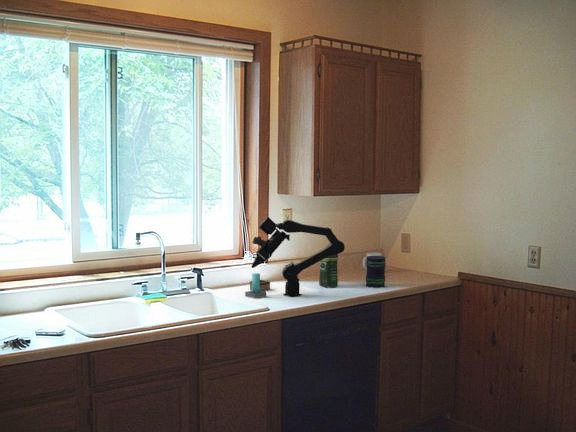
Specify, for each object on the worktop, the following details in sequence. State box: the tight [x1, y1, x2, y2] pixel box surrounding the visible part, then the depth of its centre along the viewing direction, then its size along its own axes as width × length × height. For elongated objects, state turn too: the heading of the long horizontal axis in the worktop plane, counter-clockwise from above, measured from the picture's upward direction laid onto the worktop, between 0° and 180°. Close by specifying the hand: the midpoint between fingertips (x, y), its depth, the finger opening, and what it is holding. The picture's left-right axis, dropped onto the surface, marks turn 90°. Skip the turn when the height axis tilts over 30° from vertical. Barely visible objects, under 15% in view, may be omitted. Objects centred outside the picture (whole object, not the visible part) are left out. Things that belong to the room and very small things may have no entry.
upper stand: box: [249, 279, 271, 292], centre depth 318 cm, size 7×7×4 cm
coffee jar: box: [318, 254, 339, 288], centre depth 329 cm, size 10×8×19 cm
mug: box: [362, 252, 382, 272], centre depth 374 cm, size 12×8×11 cm
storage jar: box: [365, 255, 387, 289], centre depth 331 cm, size 10×10×15 cm
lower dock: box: [244, 290, 267, 299], centre depth 302 cm, size 7×7×2 cm
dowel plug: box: [251, 272, 261, 294], centre depth 301 cm, size 4×4×10 cm
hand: (252, 266), depth 303 cm, fingers open, 9 cm apart
